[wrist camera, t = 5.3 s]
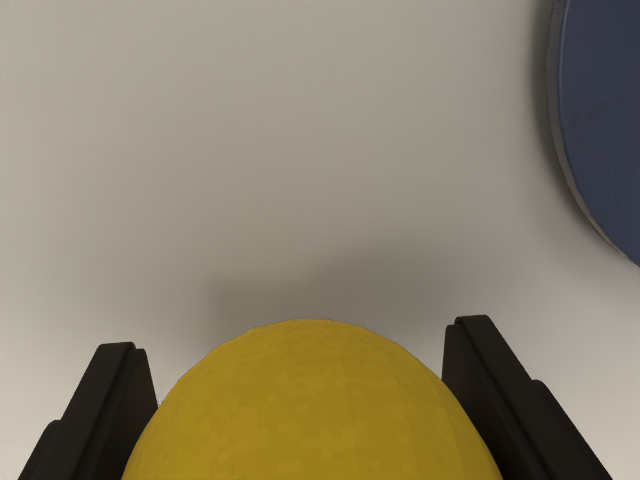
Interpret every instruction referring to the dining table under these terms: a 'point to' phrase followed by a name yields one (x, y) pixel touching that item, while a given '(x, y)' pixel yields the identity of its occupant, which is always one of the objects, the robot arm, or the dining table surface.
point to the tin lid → (598, 112)
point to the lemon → (310, 413)
